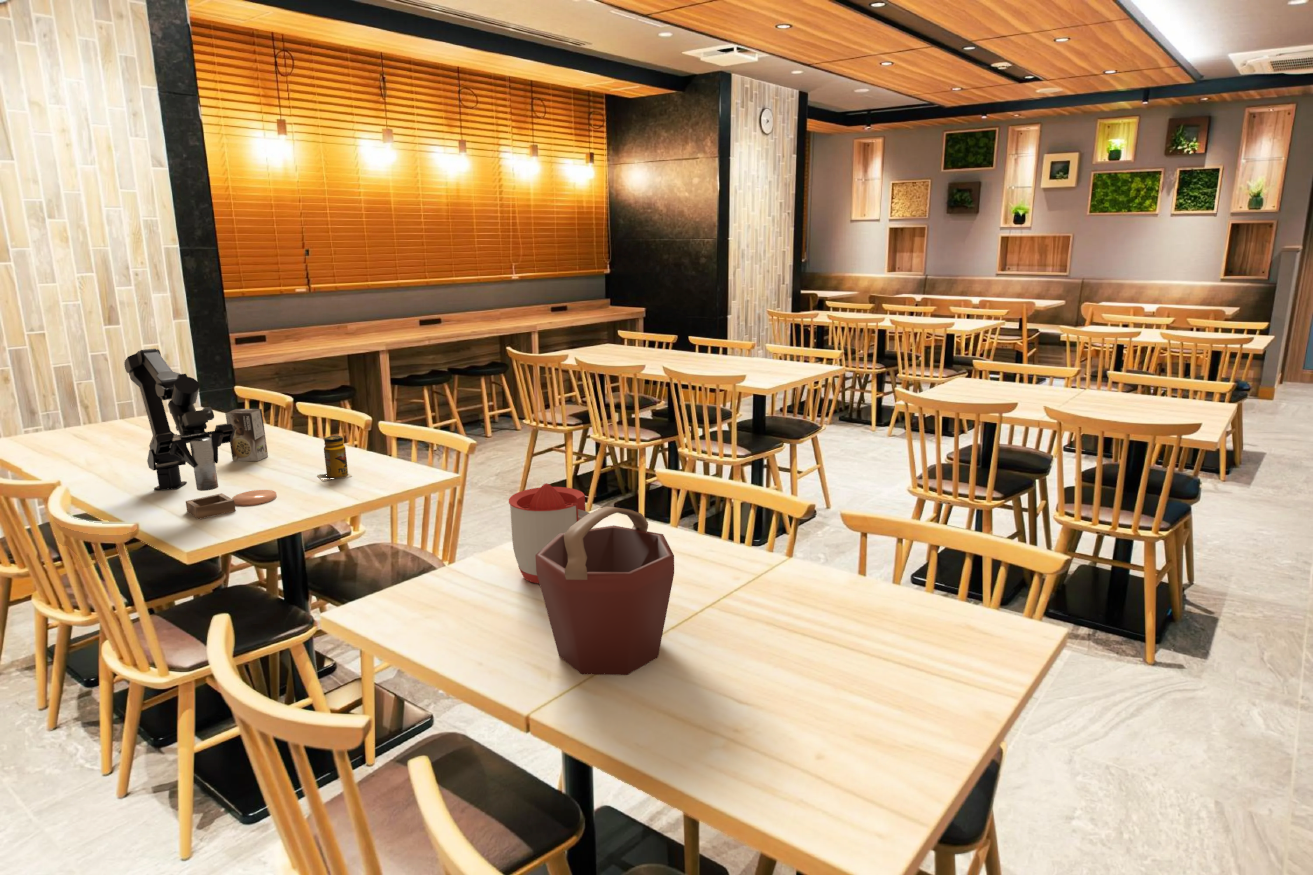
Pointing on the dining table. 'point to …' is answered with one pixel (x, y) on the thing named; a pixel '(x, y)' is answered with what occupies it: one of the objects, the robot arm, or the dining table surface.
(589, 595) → the bucket
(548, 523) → the citrus juicer
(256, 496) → the coaster
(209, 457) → the peg
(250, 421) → the coffee box
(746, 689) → the dining table surface
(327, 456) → the condiment
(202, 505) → the pocket block
